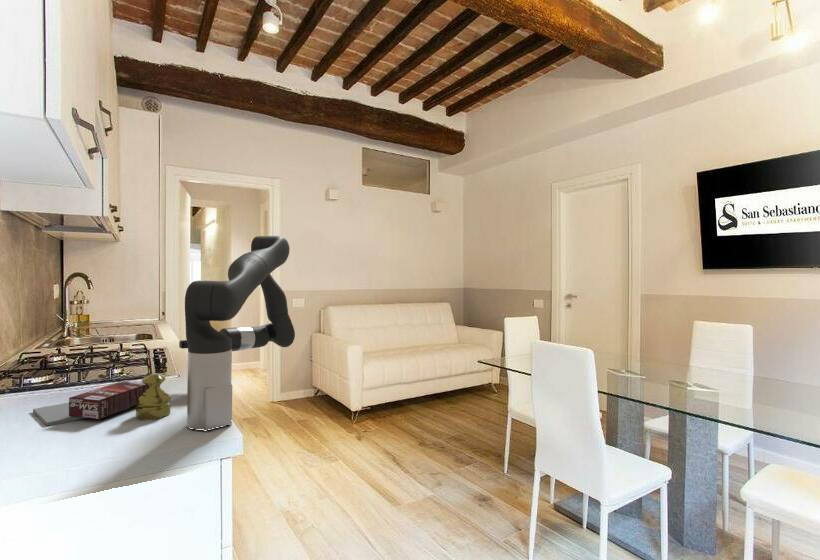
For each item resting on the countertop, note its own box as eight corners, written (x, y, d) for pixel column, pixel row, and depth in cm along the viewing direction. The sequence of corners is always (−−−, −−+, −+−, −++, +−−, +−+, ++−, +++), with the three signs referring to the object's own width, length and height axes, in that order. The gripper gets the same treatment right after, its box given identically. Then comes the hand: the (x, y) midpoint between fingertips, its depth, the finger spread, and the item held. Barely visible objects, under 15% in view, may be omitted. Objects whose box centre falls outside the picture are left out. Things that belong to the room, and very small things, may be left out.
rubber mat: (128, 409, 108) (128, 406, 108) (46, 426, 95) (46, 422, 95) (110, 398, 116) (110, 395, 116) (33, 412, 104) (33, 408, 104)
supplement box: (152, 381, 113) (100, 399, 98) (152, 399, 113) (100, 420, 98) (123, 379, 115) (67, 397, 99) (123, 397, 115) (67, 417, 99)
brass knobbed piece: (177, 412, 106) (178, 372, 106) (150, 422, 99) (150, 379, 99) (156, 408, 109) (156, 369, 109) (127, 417, 102) (128, 376, 102)
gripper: (226, 325, 141) (170, 329, 128) (247, 329, 133) (190, 333, 119) (226, 348, 141) (170, 354, 128) (247, 353, 133) (190, 360, 119)
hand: (180, 344), depth 124 cm, fingers closed
